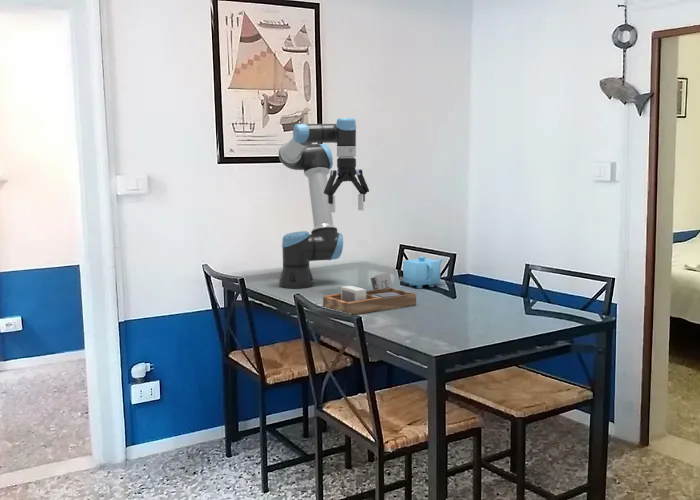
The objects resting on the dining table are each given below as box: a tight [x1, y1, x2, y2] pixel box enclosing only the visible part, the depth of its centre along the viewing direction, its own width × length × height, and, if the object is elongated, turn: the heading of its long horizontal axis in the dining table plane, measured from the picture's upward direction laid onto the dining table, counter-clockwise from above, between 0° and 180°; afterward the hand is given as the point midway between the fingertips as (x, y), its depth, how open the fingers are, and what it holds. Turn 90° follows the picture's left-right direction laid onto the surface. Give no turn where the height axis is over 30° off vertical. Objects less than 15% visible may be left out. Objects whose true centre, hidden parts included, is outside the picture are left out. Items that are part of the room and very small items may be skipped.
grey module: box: [372, 292, 401, 298], centre depth 292 cm, size 9×10×4 cm
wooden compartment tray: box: [322, 287, 417, 316], centre depth 289 cm, size 16×32×5 cm, turn 124°
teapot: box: [402, 255, 446, 289], centre depth 331 cm, size 18×16×13 cm
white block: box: [340, 285, 367, 302], centre depth 284 cm, size 10×5×8 cm, turn 35°
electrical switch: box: [370, 271, 394, 290], centre depth 311 cm, size 9×5×9 cm, turn 141°
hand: (346, 211), depth 304 cm, fingers open, 13 cm apart
